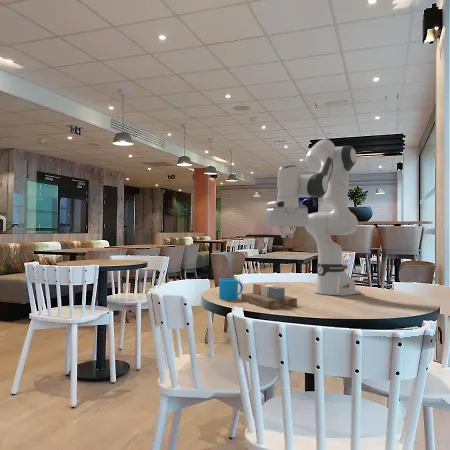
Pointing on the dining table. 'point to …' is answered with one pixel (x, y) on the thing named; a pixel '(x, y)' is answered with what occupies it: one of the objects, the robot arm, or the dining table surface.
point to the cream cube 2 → (265, 290)
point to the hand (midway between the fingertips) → (287, 237)
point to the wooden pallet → (268, 301)
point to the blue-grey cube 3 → (276, 293)
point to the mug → (229, 289)
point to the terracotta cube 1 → (257, 288)
